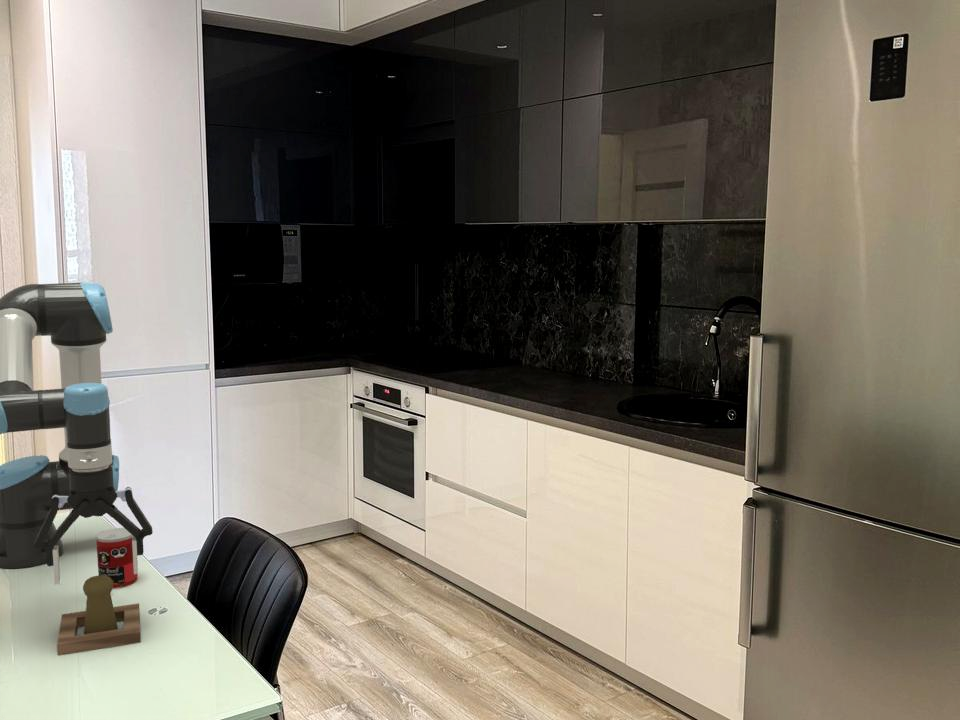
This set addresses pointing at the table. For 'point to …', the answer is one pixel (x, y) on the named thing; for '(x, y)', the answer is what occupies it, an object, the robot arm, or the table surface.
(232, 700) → the table surface
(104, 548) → the canned food
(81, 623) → the socket plate
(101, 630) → the cork
